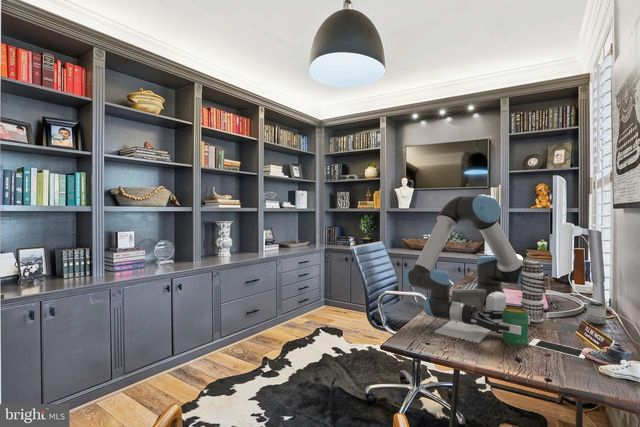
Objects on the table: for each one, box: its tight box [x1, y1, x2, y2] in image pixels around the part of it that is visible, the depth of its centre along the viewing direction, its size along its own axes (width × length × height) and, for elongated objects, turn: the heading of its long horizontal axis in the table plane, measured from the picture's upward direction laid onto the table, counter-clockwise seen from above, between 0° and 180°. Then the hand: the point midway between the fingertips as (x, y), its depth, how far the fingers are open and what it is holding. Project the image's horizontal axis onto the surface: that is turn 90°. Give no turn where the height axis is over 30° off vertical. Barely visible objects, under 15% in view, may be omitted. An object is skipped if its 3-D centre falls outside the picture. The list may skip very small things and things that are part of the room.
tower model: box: [519, 260, 546, 323], centre depth 150 cm, size 9×9×25 cm
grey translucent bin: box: [450, 288, 486, 311], centre depth 162 cm, size 16×9×11 cm, turn 81°
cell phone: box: [527, 338, 586, 360], centre depth 119 cm, size 8×16×1 cm, turn 43°
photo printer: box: [485, 292, 507, 323], centre depth 148 cm, size 10×4×12 cm, turn 123°
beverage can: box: [501, 306, 529, 348], centre depth 124 cm, size 8×8×12 cm
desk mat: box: [434, 320, 492, 344], centre depth 138 cm, size 22×16×1 cm
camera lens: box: [586, 301, 607, 325], centre depth 146 cm, size 6×6×8 cm
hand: (525, 325), depth 122 cm, fingers open, 13 cm apart
